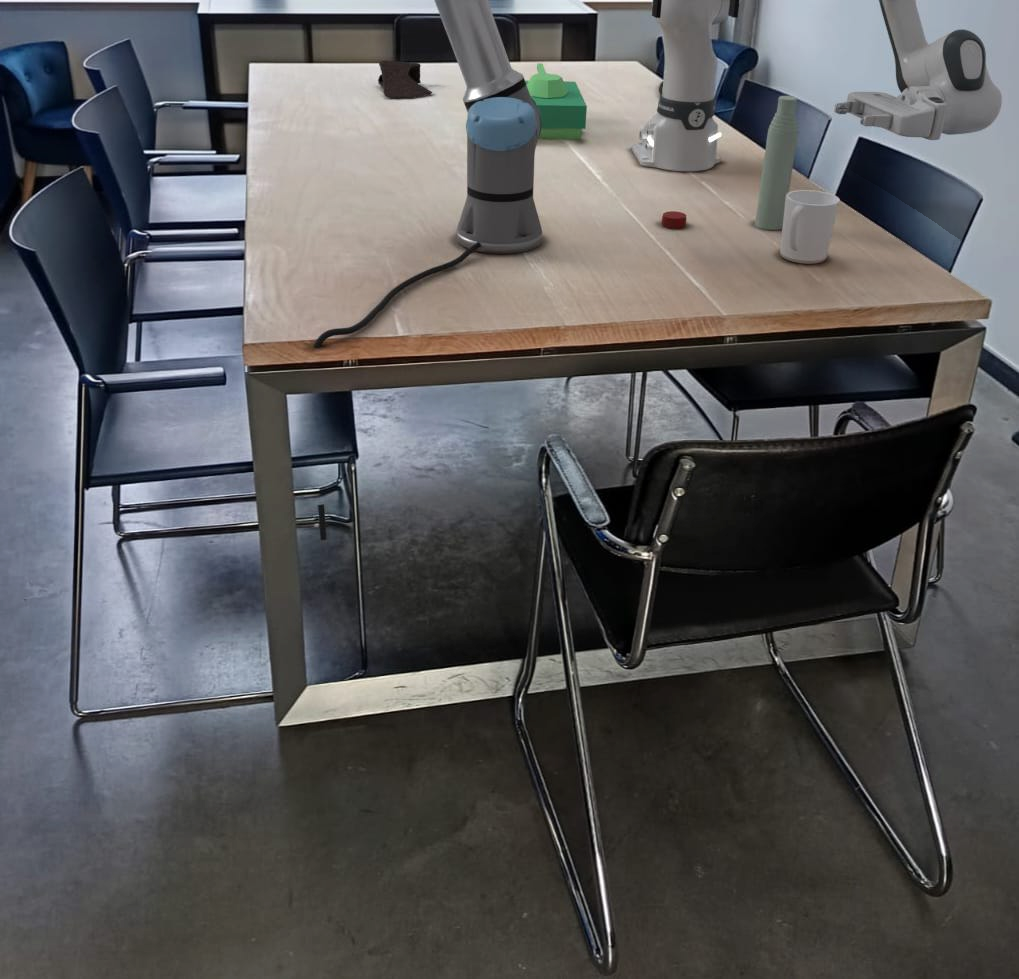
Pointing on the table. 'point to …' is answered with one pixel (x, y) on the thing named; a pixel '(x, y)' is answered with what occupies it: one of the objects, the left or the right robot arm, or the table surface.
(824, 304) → the table surface
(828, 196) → the mug
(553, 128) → the toy tank
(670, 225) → the cap
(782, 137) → the bottle
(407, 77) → the axe head
